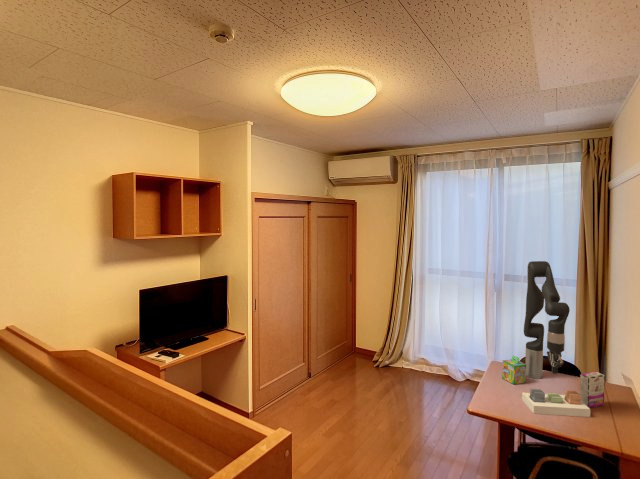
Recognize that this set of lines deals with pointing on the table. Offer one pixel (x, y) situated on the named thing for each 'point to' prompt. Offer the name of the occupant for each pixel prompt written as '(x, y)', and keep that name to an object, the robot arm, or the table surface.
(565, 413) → the board
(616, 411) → the table surface
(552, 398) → the sage block
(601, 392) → the candy bar box
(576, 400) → the terracotta block
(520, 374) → the chalk box
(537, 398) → the slate block
